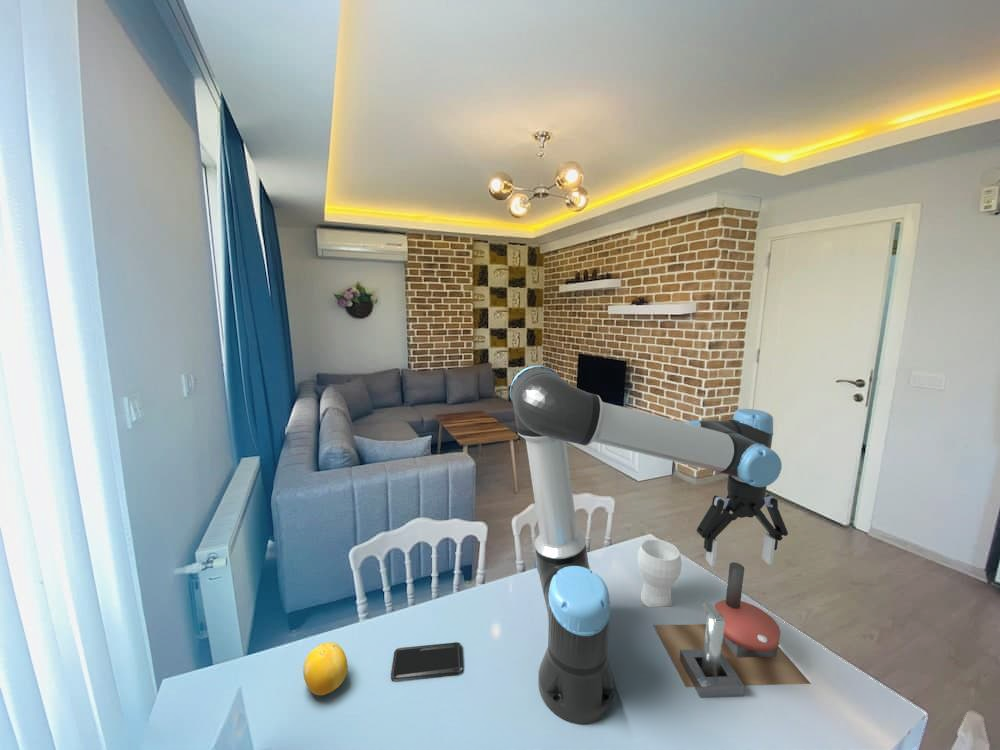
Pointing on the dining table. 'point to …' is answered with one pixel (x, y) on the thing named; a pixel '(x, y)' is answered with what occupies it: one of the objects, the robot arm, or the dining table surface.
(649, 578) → the cup
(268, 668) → the dining table surface
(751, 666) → the board
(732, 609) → the handwheel
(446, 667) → the phone
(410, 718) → the dining table surface
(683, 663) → the eye
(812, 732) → the dining table surface
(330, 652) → the fruit
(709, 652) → the hook peg
